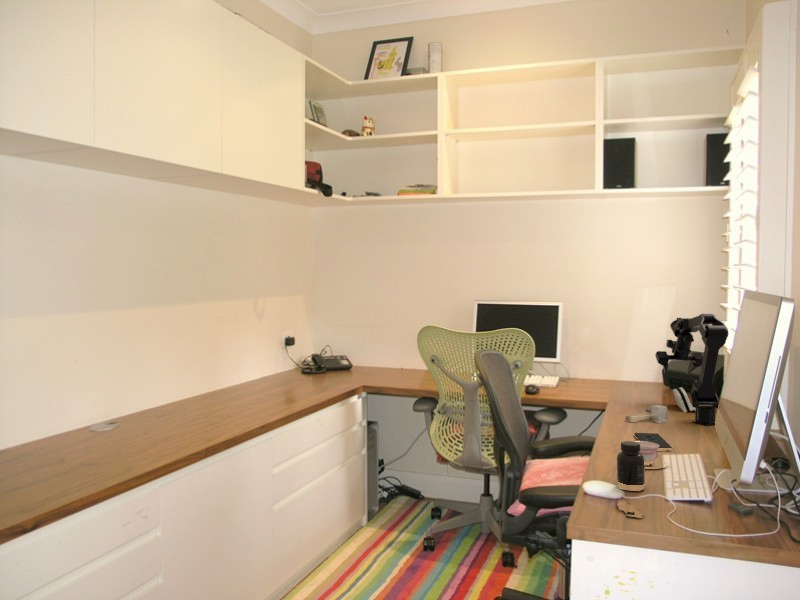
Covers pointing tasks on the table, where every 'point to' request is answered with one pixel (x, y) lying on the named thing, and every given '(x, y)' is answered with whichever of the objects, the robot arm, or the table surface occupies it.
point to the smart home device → (653, 439)
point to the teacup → (648, 450)
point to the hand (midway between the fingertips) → (676, 373)
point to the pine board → (638, 417)
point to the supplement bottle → (630, 464)
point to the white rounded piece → (682, 400)
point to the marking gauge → (658, 413)
